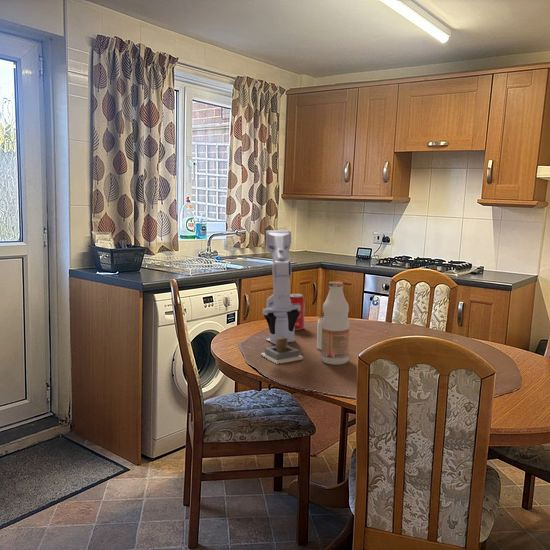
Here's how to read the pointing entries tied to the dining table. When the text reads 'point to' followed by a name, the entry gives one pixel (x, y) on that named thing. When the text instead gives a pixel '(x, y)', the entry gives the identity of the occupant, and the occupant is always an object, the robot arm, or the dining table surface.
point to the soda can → (300, 320)
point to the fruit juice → (335, 326)
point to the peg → (281, 344)
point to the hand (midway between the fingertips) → (281, 332)
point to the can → (319, 333)
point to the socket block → (281, 355)
